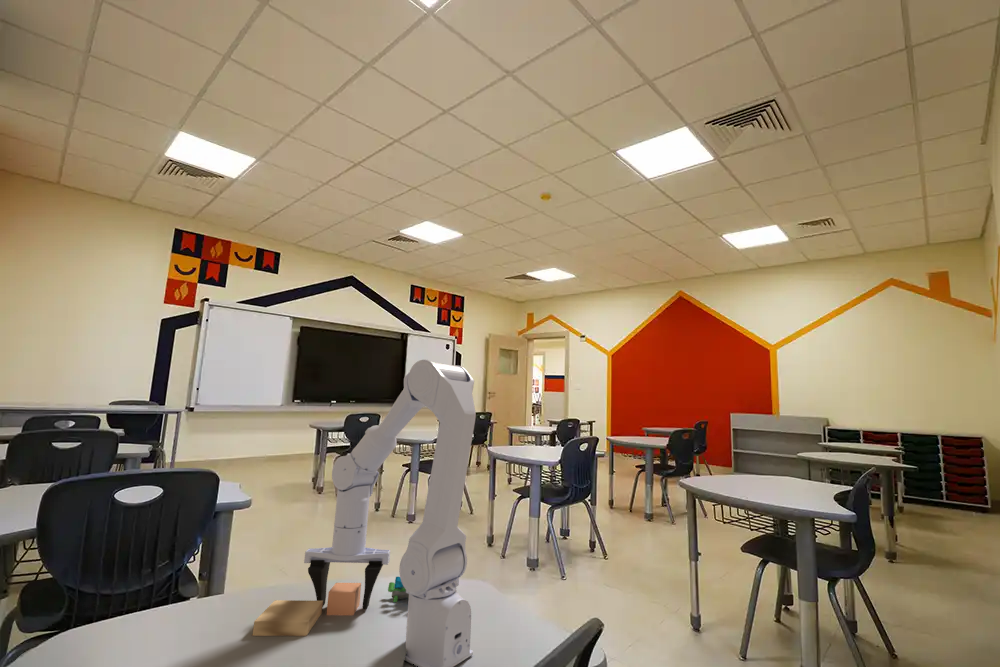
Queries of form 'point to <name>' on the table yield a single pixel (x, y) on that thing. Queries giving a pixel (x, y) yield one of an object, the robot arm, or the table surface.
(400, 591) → the gear
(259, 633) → the tower top
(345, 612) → the block
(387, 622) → the table surface
